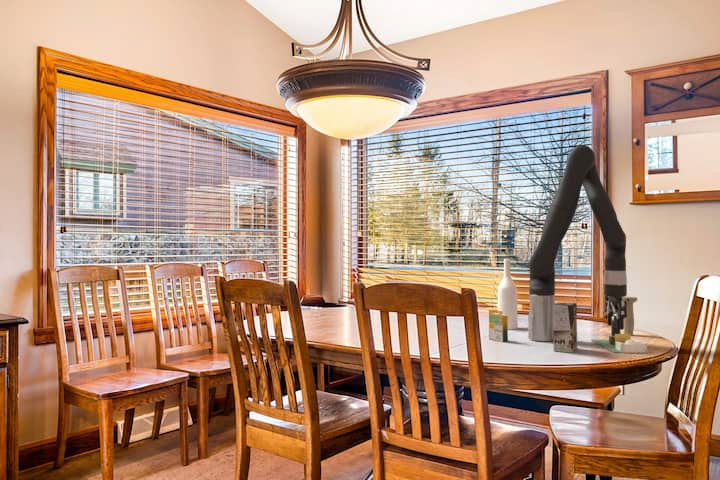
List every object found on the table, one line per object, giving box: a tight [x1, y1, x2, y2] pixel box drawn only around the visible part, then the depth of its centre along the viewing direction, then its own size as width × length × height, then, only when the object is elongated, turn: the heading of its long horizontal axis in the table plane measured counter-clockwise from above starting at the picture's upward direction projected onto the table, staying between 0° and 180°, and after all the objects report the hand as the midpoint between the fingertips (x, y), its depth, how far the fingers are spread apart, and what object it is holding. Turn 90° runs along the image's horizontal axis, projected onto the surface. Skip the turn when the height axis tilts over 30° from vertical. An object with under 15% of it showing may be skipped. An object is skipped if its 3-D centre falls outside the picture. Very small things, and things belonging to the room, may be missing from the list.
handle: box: [622, 296, 638, 336], centre depth 215 cm, size 5×6×15 cm
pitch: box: [591, 339, 647, 354], centre depth 193 cm, size 11×22×1 cm, turn 176°
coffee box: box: [553, 302, 578, 354], centre depth 188 cm, size 9×6×16 cm
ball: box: [625, 338, 637, 344], centre depth 185 cm, size 4×4×4 cm
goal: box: [616, 341, 648, 354], centre depth 184 cm, size 9×4×3 cm, turn 86°
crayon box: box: [488, 309, 509, 343], centre depth 207 cm, size 7×3×12 cm, turn 31°
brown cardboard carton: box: [608, 335, 615, 345], centre depth 195 cm, size 6×2×3 cm, turn 86°
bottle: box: [497, 258, 519, 331], centre depth 234 cm, size 8×8×30 cm
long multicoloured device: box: [610, 315, 632, 345], centre depth 195 cm, size 8×5×9 cm, turn 176°
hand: (615, 327), depth 197 cm, fingers open, 8 cm apart
